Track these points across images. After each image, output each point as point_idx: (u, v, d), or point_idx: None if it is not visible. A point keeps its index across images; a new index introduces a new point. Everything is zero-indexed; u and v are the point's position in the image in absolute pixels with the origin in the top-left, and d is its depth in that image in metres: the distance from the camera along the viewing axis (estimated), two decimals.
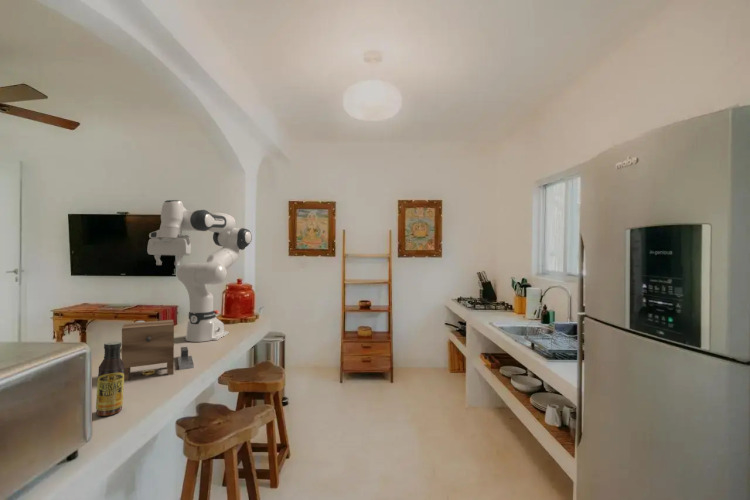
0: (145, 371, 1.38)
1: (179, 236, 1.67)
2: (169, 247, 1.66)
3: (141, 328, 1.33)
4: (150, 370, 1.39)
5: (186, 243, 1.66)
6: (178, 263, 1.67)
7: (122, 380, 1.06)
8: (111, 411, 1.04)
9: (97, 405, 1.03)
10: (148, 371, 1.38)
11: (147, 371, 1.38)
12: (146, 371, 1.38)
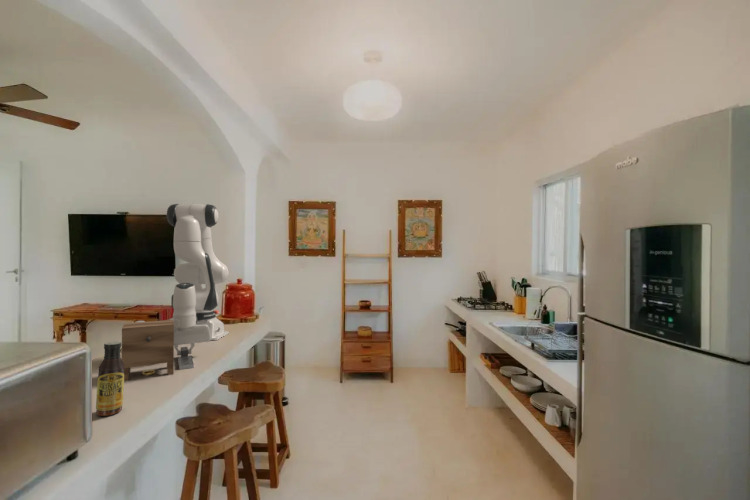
0: (145, 371, 1.38)
1: (198, 322, 1.60)
2: (188, 336, 1.57)
3: (141, 328, 1.33)
4: (150, 370, 1.39)
5: (209, 329, 1.62)
6: None
7: (122, 380, 1.06)
8: (111, 411, 1.04)
9: (97, 405, 1.03)
10: (148, 371, 1.38)
11: (147, 371, 1.38)
12: (146, 371, 1.38)
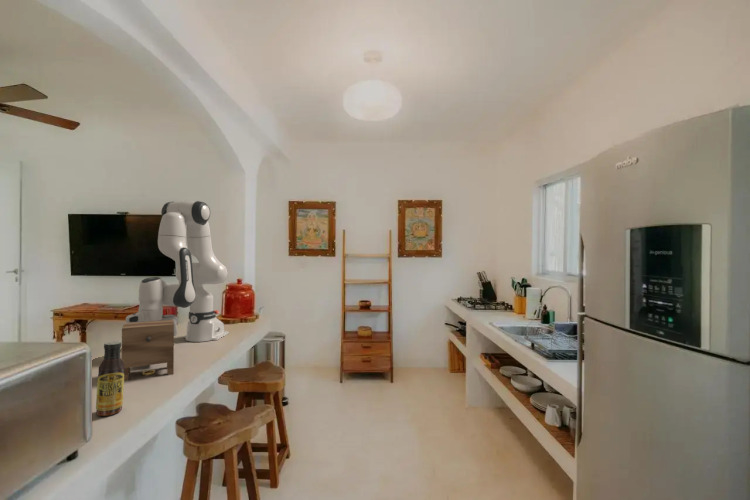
0: (145, 371, 1.38)
1: (164, 316, 1.60)
2: None
3: (141, 328, 1.33)
4: (150, 370, 1.39)
5: (176, 323, 1.62)
6: None
7: (122, 380, 1.06)
8: (111, 411, 1.04)
9: (97, 405, 1.03)
10: (148, 371, 1.38)
11: (147, 371, 1.38)
12: (146, 371, 1.38)
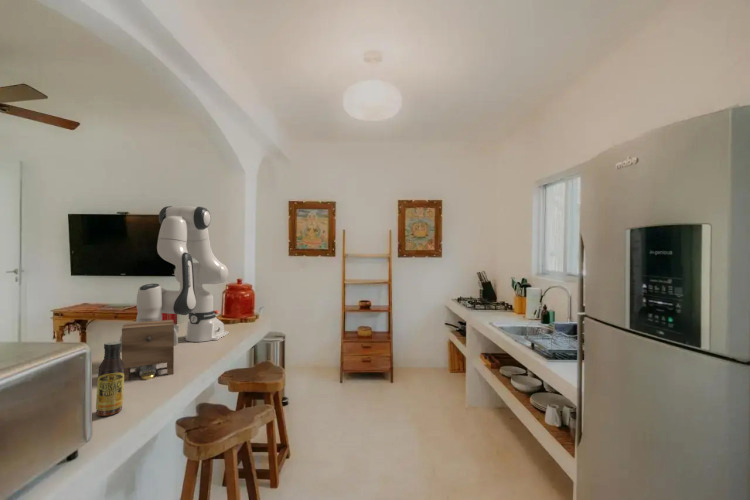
0: (144, 375, 1.34)
1: None
2: None
3: (141, 328, 1.33)
4: (149, 374, 1.35)
5: (176, 332, 1.53)
6: None
7: (122, 380, 1.06)
8: (111, 411, 1.04)
9: (97, 405, 1.03)
10: (147, 375, 1.33)
11: (146, 375, 1.33)
12: (145, 375, 1.33)
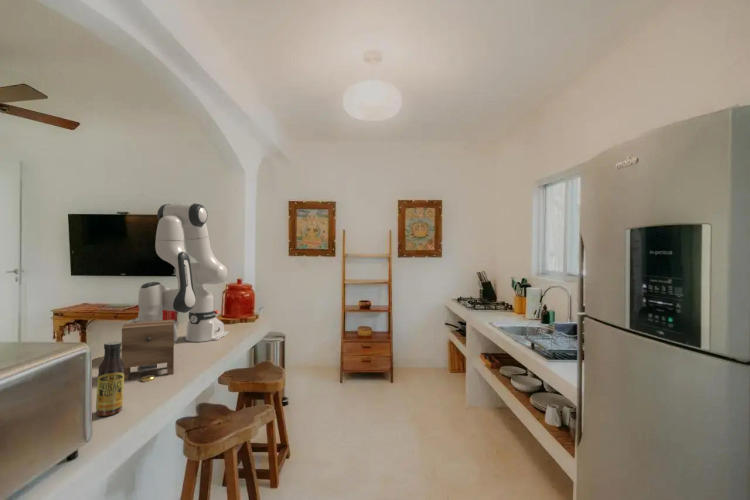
0: (144, 377, 1.32)
1: None
2: None
3: (141, 328, 1.33)
4: (149, 376, 1.33)
5: (176, 328, 1.61)
6: None
7: (122, 380, 1.06)
8: (111, 411, 1.04)
9: (97, 405, 1.03)
10: (147, 377, 1.32)
11: (146, 377, 1.31)
12: (145, 378, 1.31)
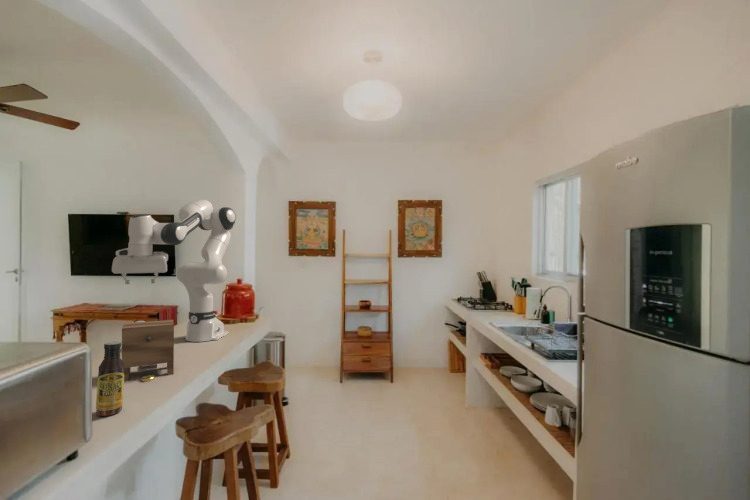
0: (144, 377, 1.32)
1: (154, 253, 1.63)
2: (144, 265, 1.60)
3: (141, 328, 1.33)
4: (149, 376, 1.33)
5: (165, 260, 1.64)
6: None
7: (122, 380, 1.06)
8: (111, 411, 1.04)
9: (97, 405, 1.03)
10: (147, 377, 1.32)
11: (146, 377, 1.31)
12: (145, 378, 1.31)
